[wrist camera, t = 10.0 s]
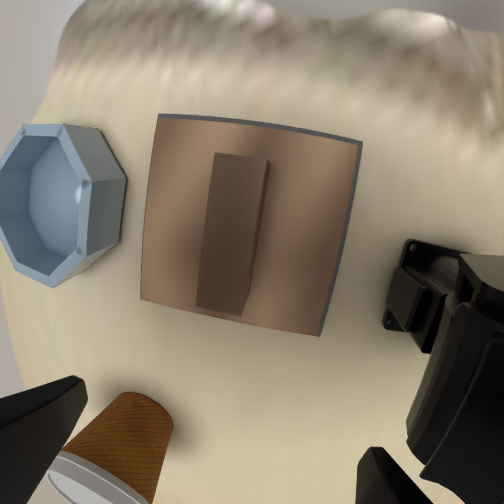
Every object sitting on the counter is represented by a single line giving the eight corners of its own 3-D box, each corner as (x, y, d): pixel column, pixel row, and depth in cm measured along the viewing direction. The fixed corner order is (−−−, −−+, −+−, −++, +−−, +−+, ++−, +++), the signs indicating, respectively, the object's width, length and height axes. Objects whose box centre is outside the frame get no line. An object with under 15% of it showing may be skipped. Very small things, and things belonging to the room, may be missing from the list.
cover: (354, 146, 16) (371, 138, 13) (315, 328, 19) (319, 362, 16) (164, 120, 17) (135, 108, 14) (147, 294, 20) (119, 317, 17)
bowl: (138, 133, 18) (101, 125, 14) (119, 280, 21) (86, 303, 17) (38, 127, 19) (1, 124, 15) (28, 246, 22) (-6, 259, 18)
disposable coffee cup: (86, 384, 25) (21, 457, 13) (154, 371, 23) (85, 474, 11) (136, 447, 26) (93, 523, 15) (206, 443, 25) (172, 542, 13)
